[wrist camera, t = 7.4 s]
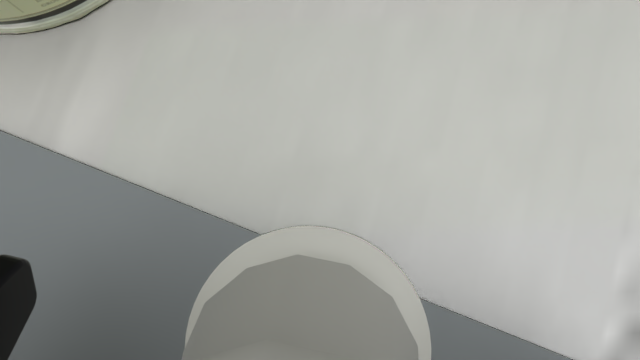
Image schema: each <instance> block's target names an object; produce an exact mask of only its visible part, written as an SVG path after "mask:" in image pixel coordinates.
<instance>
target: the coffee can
mask: <svg viewBox="0 0 640 360" xmlns="http://www.w3.org/2000/svg"><path fill="white" fill-rule="evenodd" d="M107 1H109V0H0V34H19V33H28V32H34V31H40V30H45V29H49V28H53V27H57V26H59V25H62V24H64V23H67V22H70V21H74V20H77V19H79V18H81V17H83V16H85V15H86V14H88V13H89V12H91V11H92V10H94V9H96V8H97V7H99V6H101V5H102V4H104V3H106V2H107Z"/></svg>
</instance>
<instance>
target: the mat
mask: <svg viewBox="0 0 640 360" xmlns="http://www.w3.org/2000/svg"><path fill="white" fill-rule="evenodd" d="M3 254H6V255H11V256H15V257H19V258H23V259H26V260H28V261H29V263H30V264H31V268H32V272H33V277H34V281H35V286H36V290H37V299H36V303H35V306H34V309H33V311H32V313H31V315H30V317H29V319H28V321H27V323H26V325H25V327H24V329H23V331H22V333H21V335H20V337H19V339H18V341H17V343H16V345H15V347H14V349H13V351H12V352H11V354H10V356H9V358H8V360H182V355H183V351H184V349H185V347H186V345H187V342H188V340H189V338H190V335H191V333H192V331H193V329H194V326H195V324H196V322H197V319H198V317H199V315H200V313H201V310H202V308H203V306H204V303H205V302H206V301H207V300H209V299H210V298H211V297H212V296H213V295H215V294H216V293H217V292H218V291H220V290H221V289H222V288H223V287H224V286H226V285H227V284H228V283H229V282H230V281H232V280H233V279H234V278H235V277H236V276H238V275H239V274H240V273H241V272H243V271H244V270H245V269H246V268H249V267H252V266H256V265H260V264H263V263H267V262H271V261H275V260H278V259H282V258H286V257H289V256H293V255H297V254H299V255H303V256H308V257H313V258H318V259H323V260H328V261H333V262H338V263H343V264H348V265H350V266H352V267H353V268H354V269H356V270H357V271H358V272H360V273H361V274H362V275H364V276H365V277H366V278H368V279H369V280H370V281H372V282H373V283H374V284H376V285H377V286H378V287H380V288H381V289H382V290H384V291H385V292H387V293H388V294H389V295H391V296H392V297H393V299H394V301H395V303H396V305H397V307H398V308H399V310H400V312H401V314H402V316H403V318H404V320H405V322H406V324H407V326H408V328H409V330H410V332H411V333H412V335H413V337H414V339H415V341H416V343H417V345H418V359H419V360H573V359H570V358H568V357H565V356H563V355H560V354H558V353H555V352H553V351H550V350H548V349H545V348H543V347H540V346H538V345H535V344H533V343H530V342H528V341H525V340H523V339H520V338H518V337H515V336H513V335H510V334H508V333H505V332H503V331H500V330H498V329H495V328H493V327H490V326H488V325H485V324H483V323H480V322H478V321H475V320H473V319H470V318H468V317H465V316H463V315H460V314H458V313H455V312H453V311H450V310H448V309H445V308H443V307H440V306H438V305H435V304H433V303H430V302H428V301H425V300H423V299H420V298H419V296H418V295H417V293H416V291H415V289H414V287H413V285H412V284H411V282H410V281H409V279H408V278H407V277H406V275H405V274H404V272H403V271H402V270H401V269H400V268H399V267H398V266H397V265H396V263H395V262H394V261H393V260H392V259H391V258H389V257H388V256H387V255H386V254H385V253H383V252H382V251H381V250H380V249H378V248H377V247H375V246H374V245H372V244H371V243H369V242H367V241H366V240H363V239H361V238H359V237H357V236H355V235H353V234H350V233H347V232H344V231H341V230H338V229H332V228H327V227H321V226H297V227H288V228H283V229H279V230H274V231H272V232H269V233H266V234H263V235H260V234H258V233H255V232H253V231H250V230H248V229H245V228H243V227H240V226H238V225H235V224H233V223H230V222H228V221H225V220H223V219H220V218H218V217H215V216H213V215H210V214H208V213H205V212H203V211H200V210H198V209H195V208H193V207H190V206H188V205H185V204H183V203H180V202H178V201H175V200H173V199H170V198H168V197H165V196H163V195H160V194H158V193H155V192H153V191H150V190H148V189H145V188H143V187H140V186H138V185H135V184H133V183H130V182H128V181H125V180H123V179H120V178H118V177H115V176H113V175H110V174H108V173H105V172H103V171H100V170H98V169H95V168H93V167H90V166H88V165H85V164H83V163H80V162H78V161H75V160H73V159H70V158H68V157H65V156H63V155H60V154H58V153H55V152H53V151H50V150H48V149H45V148H43V147H40V146H38V145H35V144H33V143H30V142H28V141H25V140H23V139H20V138H18V137H15V136H13V135H10V134H8V133H5V132H3V131H0V255H3Z"/></svg>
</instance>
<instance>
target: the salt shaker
mask: <svg viewBox="0 0 640 360" xmlns="http://www.w3.org/2000/svg"><path fill="white" fill-rule="evenodd" d="M182 360H419V359H418V345H417V343H416V341H415V339H414V337H413V335H412V333H411V332H410V330H409V328H408V326H407V324H406V322H405V320H404V318H403V316H402V314H401V312H400V310H399V308H398V307H397V305H396V303H395V301H394V299H393V297H392V296H391V295H389V294H388V293H387V292H385V291H384V290H382V289H381V288H380V287H378V286H377V285H376V284H374V283H373V282H372V281H370V280H369V279H368V278H366V277H365V276H364V275H362V274H361V273H360V272H358V271H357V270H356V269H354V268H353V267H352V266H350V265H348V264H343V263H338V262H333V261H328V260H323V259H318V258H313V257H308V256H303V255H299V254H297V255H293V256H289V257H286V258H282V259H278V260H275V261H271V262H267V263H263V264H260V265H256V266H252V267H249V268H246V269H245V270H244V271H243V272H241V273H240V274H239V275H238V276H236V277H235V278H234V279H233V280H232V281H230V282H229V283H228V284H227V285H226V286H224V287H223V288H222V289H221V290H220V291H218V292H217V293H216V294H215V295H213V296H212V297H211V298H210V299H209V300H207V301H206V302H205V303H204V306H203V308H202V310H201V313H200V315H199V317H198V319H197V322H196V324H195V326H194V329H193V331H192V333H191V335H190V338H189V340H188V342H187V345H186V347H185V349H184V351H183V355H182Z"/></svg>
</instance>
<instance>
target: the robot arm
mask: <svg viewBox="0 0 640 360" xmlns="http://www.w3.org/2000/svg"><path fill="white" fill-rule="evenodd" d="M36 299H37V290H36V286H35V281H34V277H33V272H32V268H31V264H30V263H29V261H28V260H26V259H23V258H19V257H15V256H11V255H6V254H3V255H0V360H8V358H9V356H10V354H11V352H12V351H13V349H14V347H15V345H16V343H17V341H18V339H19V337H20V335H21V333H22V331H23V329H24V327H25V325H26V323H27V321H28V319H29V317H30V315H31V313H32V311H33V309H34V306H35V303H36Z"/></svg>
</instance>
